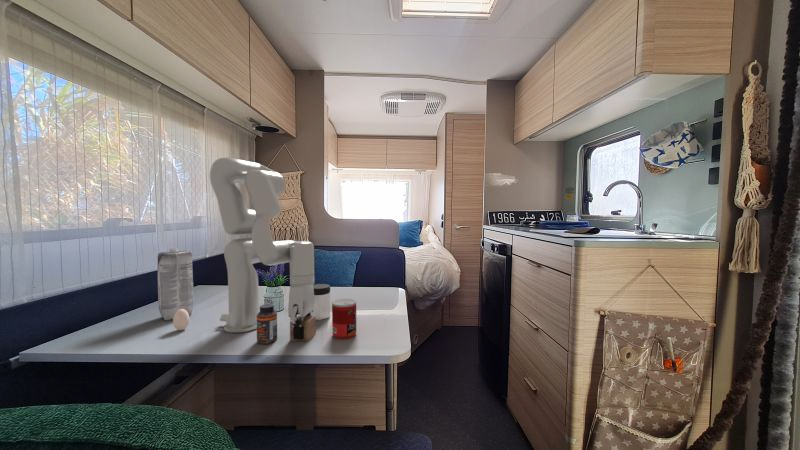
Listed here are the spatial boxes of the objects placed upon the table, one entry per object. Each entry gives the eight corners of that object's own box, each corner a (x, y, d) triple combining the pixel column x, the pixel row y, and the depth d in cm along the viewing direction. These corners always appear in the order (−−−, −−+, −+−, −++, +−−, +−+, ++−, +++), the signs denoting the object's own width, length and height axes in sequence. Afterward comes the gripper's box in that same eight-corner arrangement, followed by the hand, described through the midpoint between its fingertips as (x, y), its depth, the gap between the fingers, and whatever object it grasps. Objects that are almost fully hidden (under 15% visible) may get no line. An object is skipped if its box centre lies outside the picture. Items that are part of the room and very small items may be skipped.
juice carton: (195, 315, 120) (193, 248, 119) (161, 322, 112) (159, 250, 111) (189, 311, 126) (188, 246, 125) (157, 317, 118) (155, 249, 117)
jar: (314, 321, 112) (314, 289, 111) (304, 316, 118) (303, 286, 117) (335, 316, 118) (335, 285, 118) (324, 311, 124) (324, 282, 124)
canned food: (351, 340, 95) (351, 305, 94) (328, 338, 96) (327, 304, 96) (359, 331, 102) (359, 299, 102) (337, 329, 104) (337, 298, 104)
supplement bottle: (252, 343, 93) (251, 307, 92) (265, 336, 98) (265, 302, 98) (268, 345, 91) (268, 308, 91) (281, 338, 97) (280, 303, 97)
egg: (169, 332, 102) (169, 311, 102) (179, 327, 107) (179, 307, 107) (183, 332, 102) (183, 311, 102) (193, 327, 107) (192, 306, 107)
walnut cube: (290, 340, 95) (289, 321, 95) (298, 333, 101) (298, 315, 101) (308, 341, 94) (308, 322, 94) (315, 333, 100) (315, 316, 100)
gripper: (302, 274, 106) (303, 324, 107) (277, 285, 89) (278, 345, 90) (323, 274, 105) (323, 325, 106) (301, 285, 88) (303, 346, 89)
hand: (303, 334), depth 98 cm, fingers closed on walnut cube, 6 cm apart
